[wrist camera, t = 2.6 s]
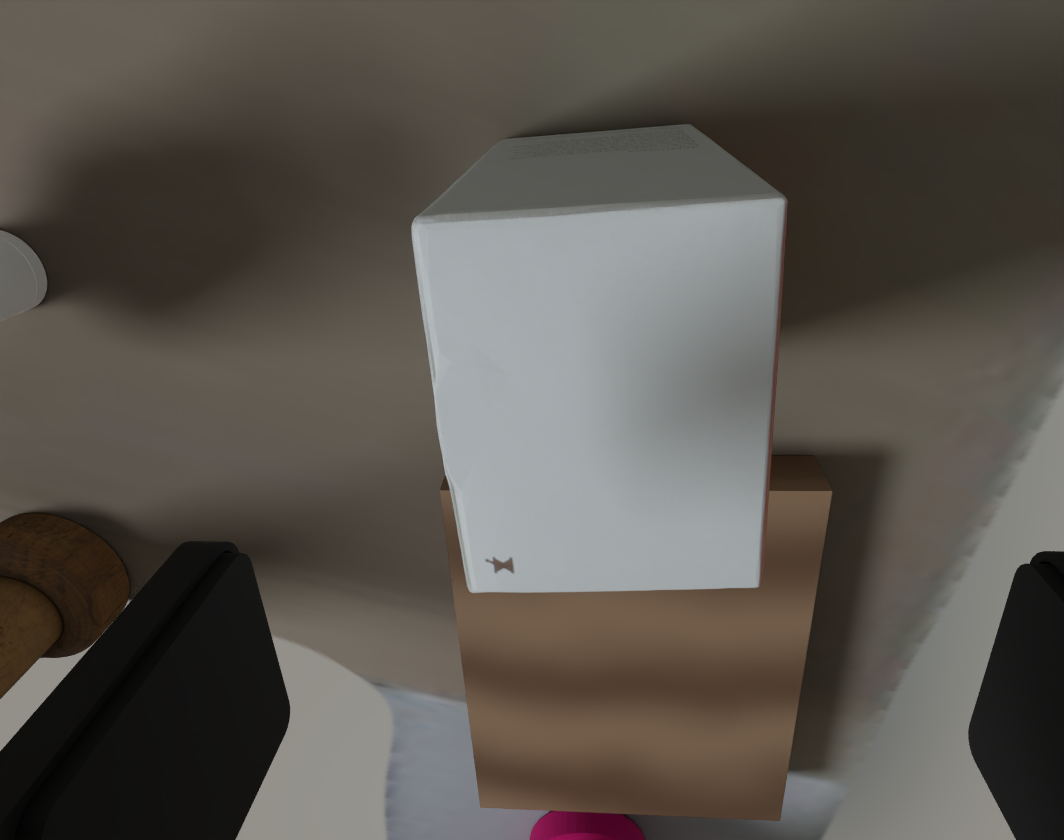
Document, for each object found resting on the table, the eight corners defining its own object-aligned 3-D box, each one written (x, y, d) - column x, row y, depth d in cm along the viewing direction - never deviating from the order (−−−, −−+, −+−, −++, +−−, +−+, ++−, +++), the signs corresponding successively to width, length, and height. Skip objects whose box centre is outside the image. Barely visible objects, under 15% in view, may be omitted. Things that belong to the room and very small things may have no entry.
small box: (693, 357, 26) (766, 598, 15) (519, 365, 27) (460, 602, 16) (697, 116, 23) (796, 189, 11) (496, 133, 24) (396, 218, 12)
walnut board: (452, 456, 29) (439, 490, 27) (813, 455, 28) (832, 490, 26) (487, 762, 37) (480, 807, 35) (768, 772, 36) (779, 820, 34)
